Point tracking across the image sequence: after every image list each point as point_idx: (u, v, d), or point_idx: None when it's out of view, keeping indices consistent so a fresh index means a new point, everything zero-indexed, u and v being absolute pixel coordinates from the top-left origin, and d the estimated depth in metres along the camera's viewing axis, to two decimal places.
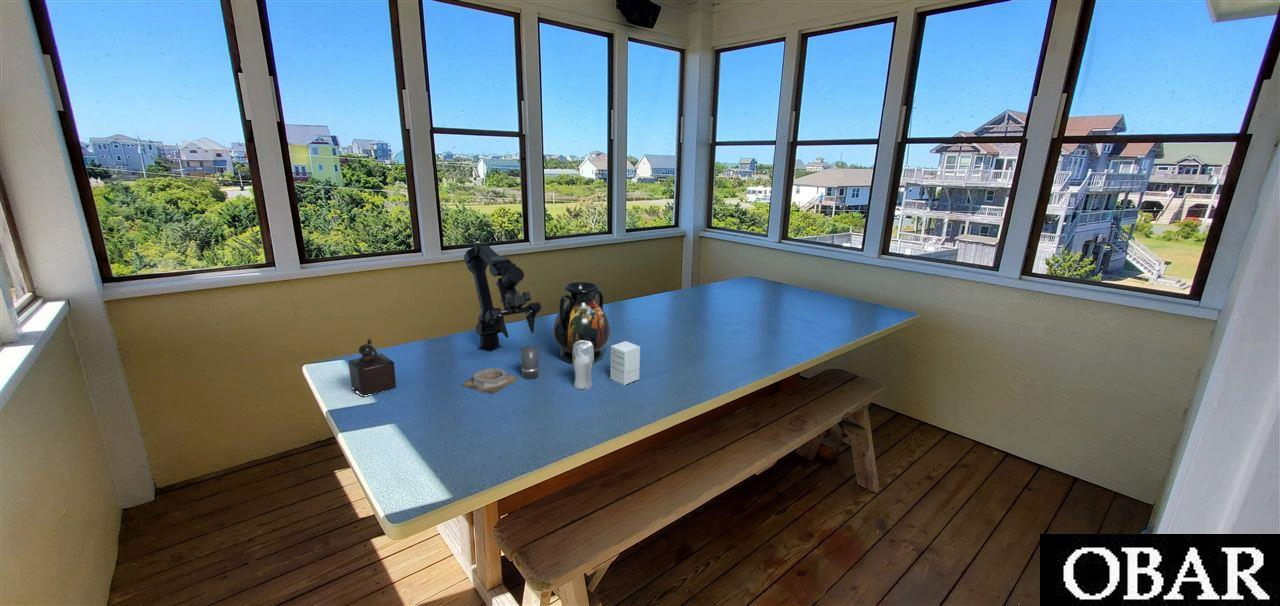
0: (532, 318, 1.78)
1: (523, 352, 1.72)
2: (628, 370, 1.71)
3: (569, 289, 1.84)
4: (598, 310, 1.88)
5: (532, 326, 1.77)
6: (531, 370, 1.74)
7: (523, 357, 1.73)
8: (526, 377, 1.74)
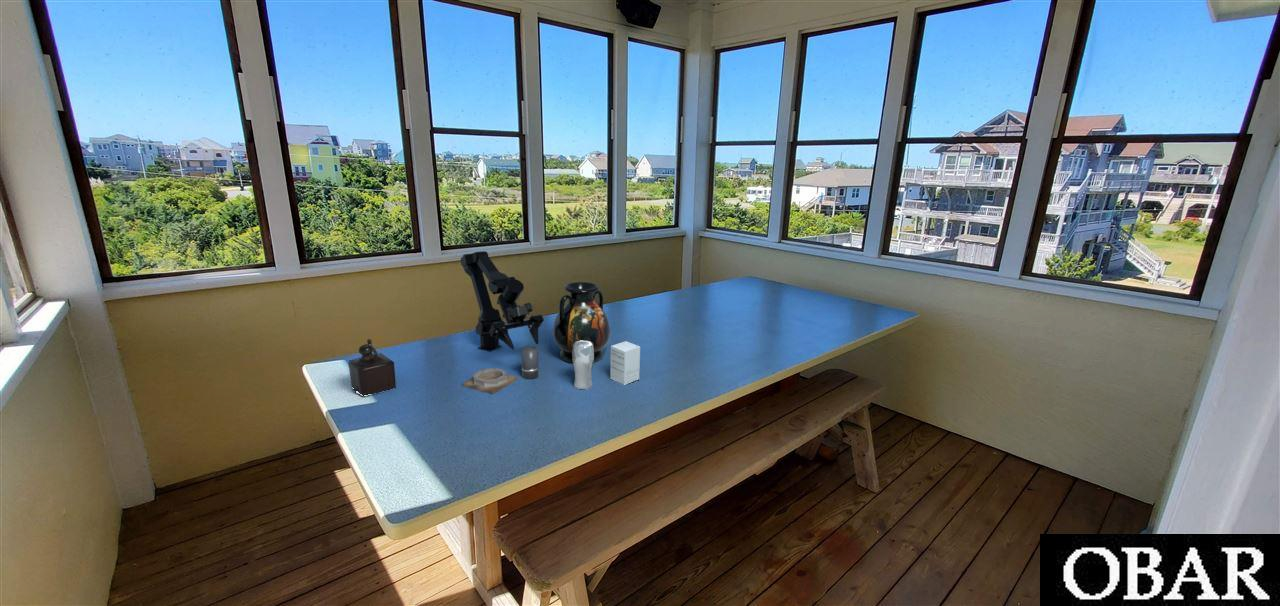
0: (536, 330, 1.80)
1: (523, 352, 1.72)
2: (628, 370, 1.71)
3: (569, 289, 1.84)
4: (598, 310, 1.88)
5: (536, 337, 1.79)
6: (531, 370, 1.74)
7: (523, 357, 1.73)
8: (526, 377, 1.74)
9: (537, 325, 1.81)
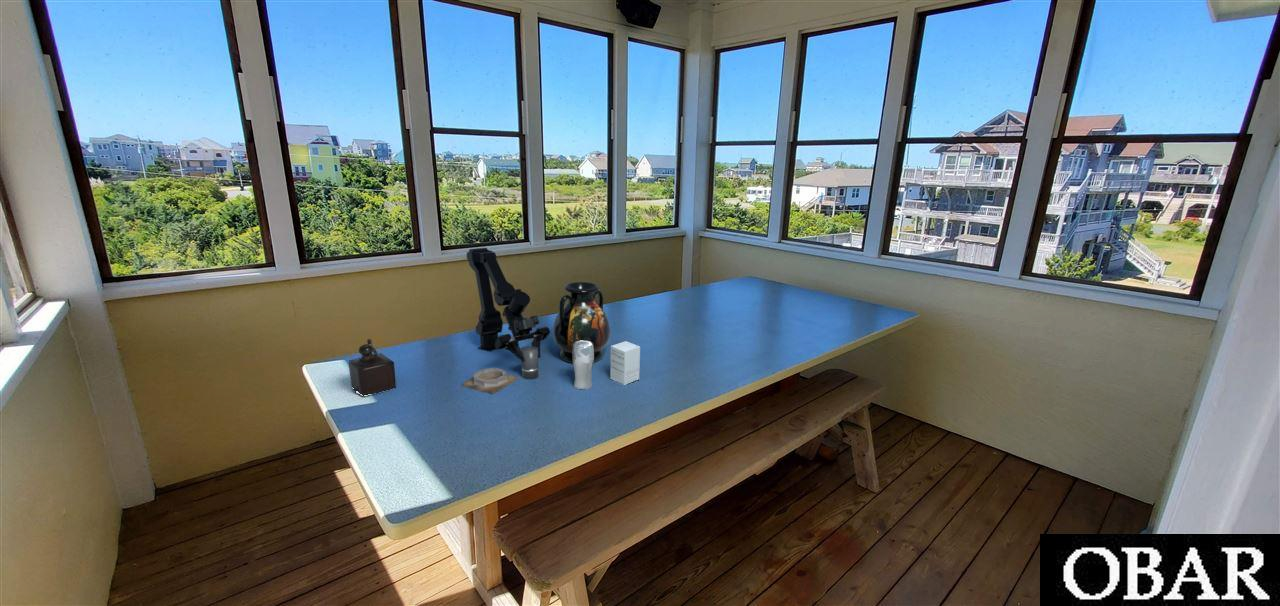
0: (538, 343, 1.77)
1: (523, 352, 1.72)
2: (628, 370, 1.71)
3: (569, 289, 1.84)
4: (598, 310, 1.88)
5: (538, 351, 1.76)
6: (531, 370, 1.74)
7: None
8: (526, 377, 1.74)
9: (539, 338, 1.77)
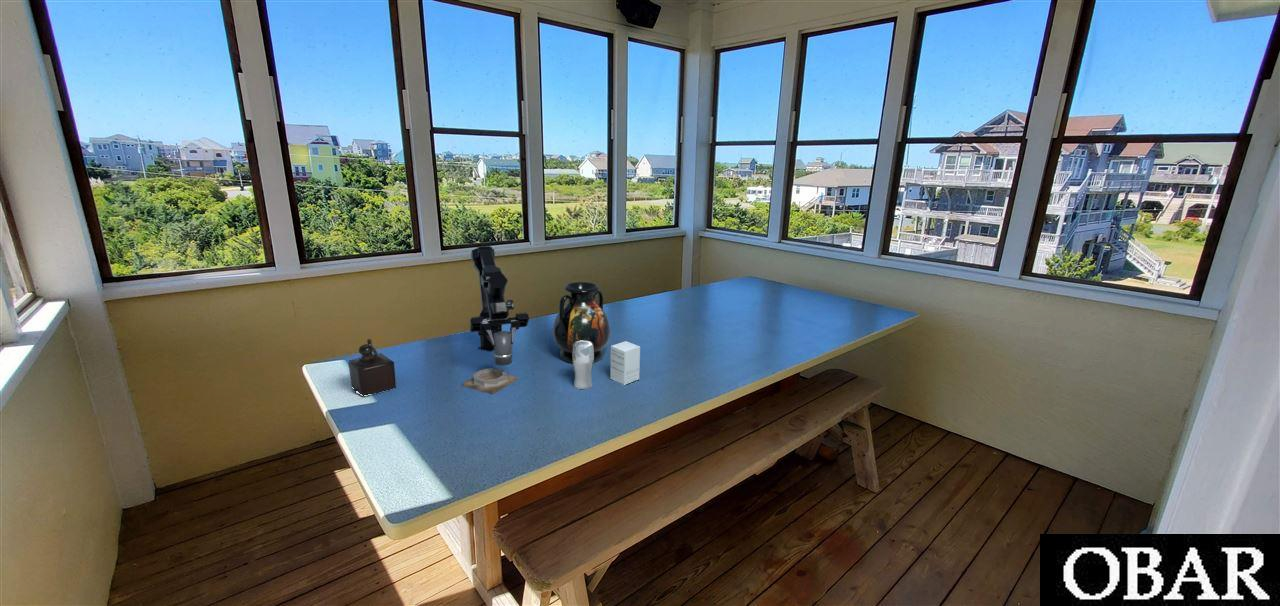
0: (513, 329, 1.70)
1: (494, 336, 1.66)
2: (628, 370, 1.71)
3: (569, 289, 1.84)
4: (598, 310, 1.88)
5: (512, 337, 1.69)
6: (501, 355, 1.67)
7: (494, 342, 1.67)
8: (497, 363, 1.68)
9: (515, 324, 1.70)
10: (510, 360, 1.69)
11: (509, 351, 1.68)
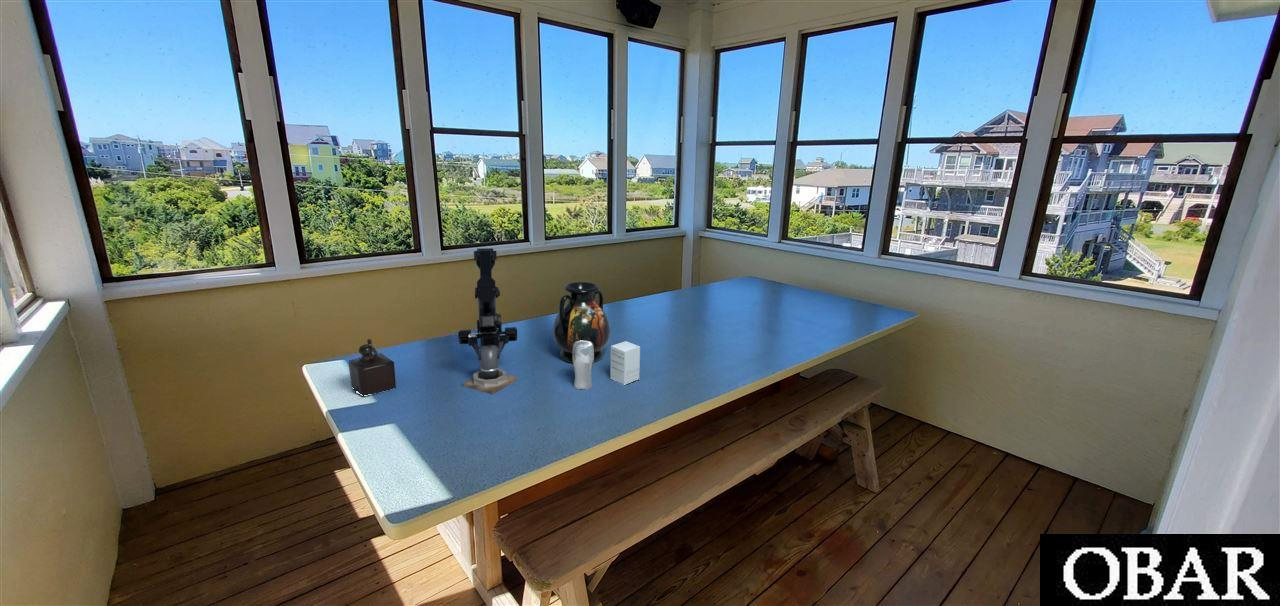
0: (500, 343, 1.69)
1: (480, 350, 1.66)
2: (628, 370, 1.71)
3: (569, 289, 1.84)
4: (598, 310, 1.88)
5: (498, 351, 1.68)
6: (486, 370, 1.66)
7: (480, 355, 1.67)
8: (482, 376, 1.68)
9: (502, 339, 1.69)
10: (496, 374, 1.69)
11: (495, 365, 1.67)
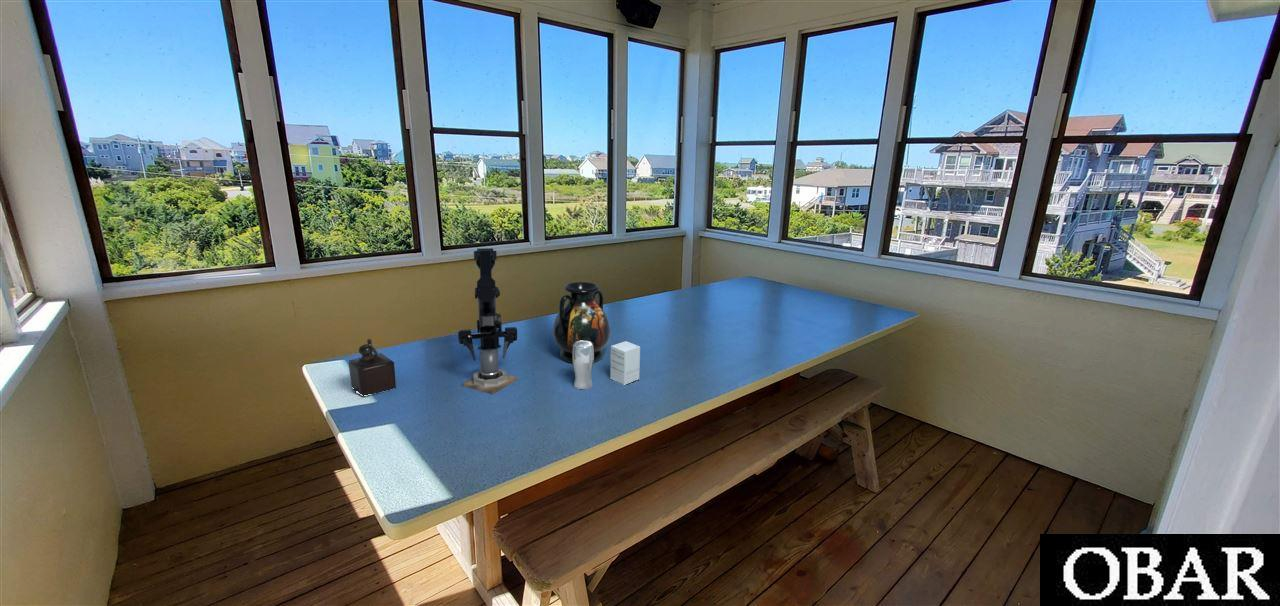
0: (505, 343, 1.69)
1: (480, 354, 1.66)
2: (628, 370, 1.71)
3: (569, 289, 1.84)
4: (598, 310, 1.88)
5: (504, 351, 1.68)
6: (486, 373, 1.67)
7: (480, 359, 1.67)
8: None
9: (507, 338, 1.70)
10: (496, 378, 1.69)
11: (495, 369, 1.68)
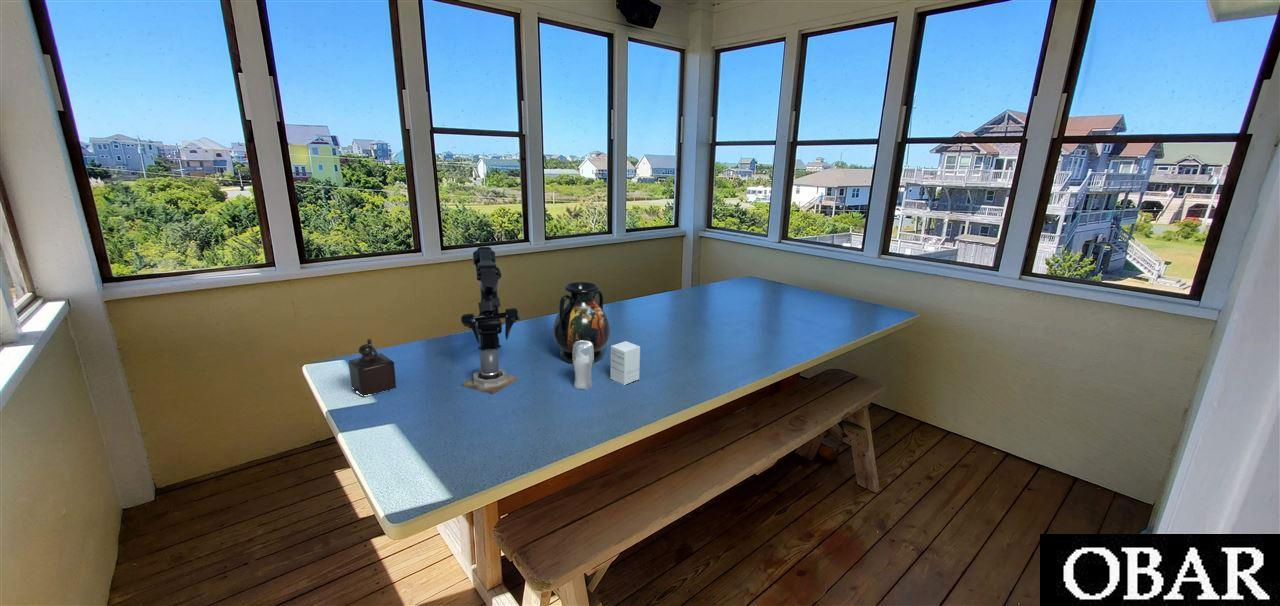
0: (507, 325, 1.74)
1: (480, 354, 1.66)
2: (628, 370, 1.71)
3: (569, 289, 1.84)
4: (598, 310, 1.88)
5: (506, 332, 1.73)
6: (486, 373, 1.67)
7: (480, 359, 1.67)
8: None
9: (508, 320, 1.73)
10: (496, 378, 1.69)
11: (495, 369, 1.68)
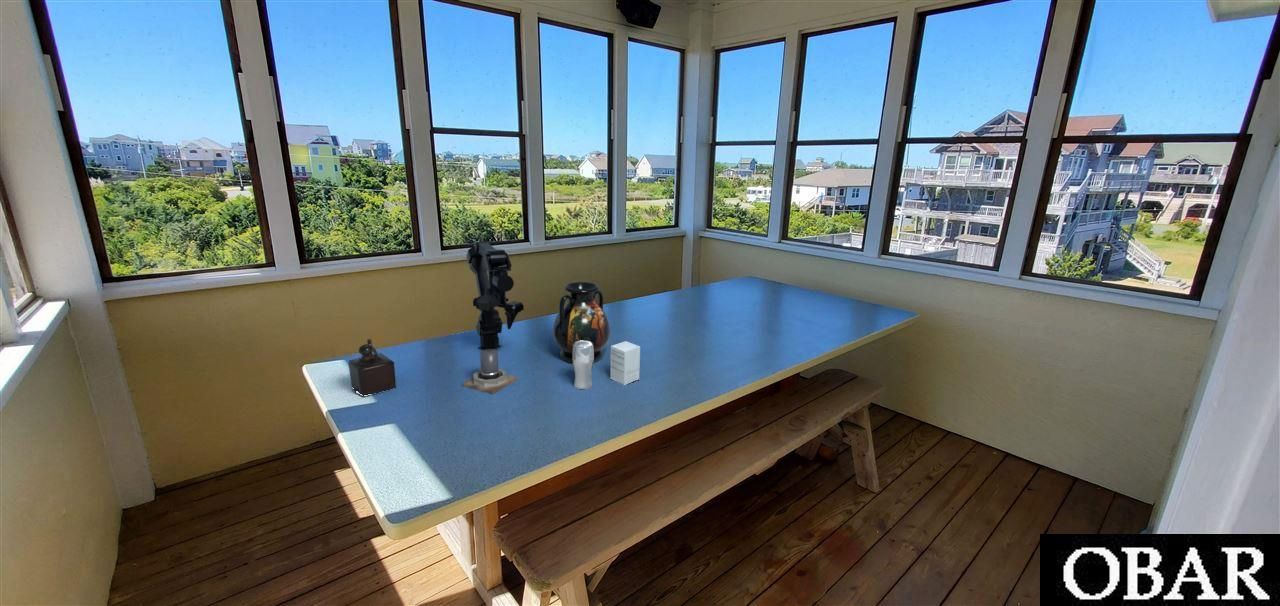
0: (508, 318, 1.81)
1: (480, 354, 1.66)
2: (628, 370, 1.71)
3: (569, 289, 1.84)
4: (598, 310, 1.88)
5: (507, 324, 1.83)
6: (486, 373, 1.67)
7: (480, 359, 1.67)
8: None
9: (508, 315, 1.80)
10: (496, 378, 1.69)
11: (495, 369, 1.68)
